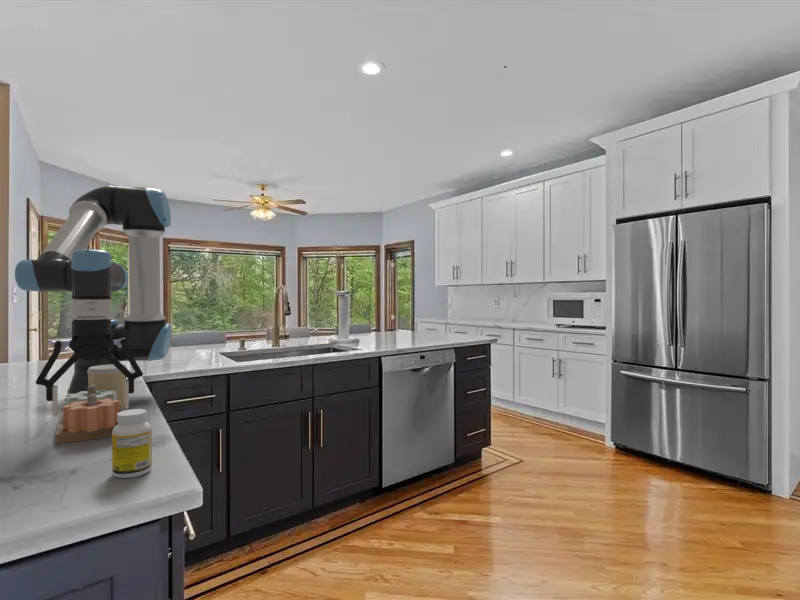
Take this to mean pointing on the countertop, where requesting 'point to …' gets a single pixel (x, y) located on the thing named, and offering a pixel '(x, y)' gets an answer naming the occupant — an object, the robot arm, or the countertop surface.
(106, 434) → the gear board
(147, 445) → the pill bottle
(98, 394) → the gear
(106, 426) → the rust gear
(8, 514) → the countertop surface
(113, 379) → the coffee cup
